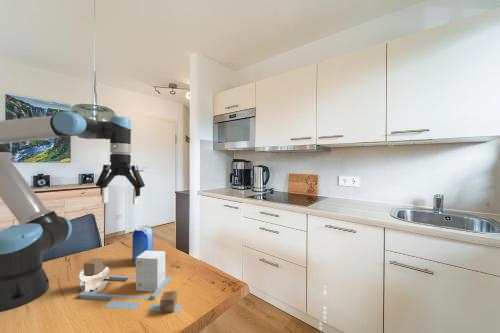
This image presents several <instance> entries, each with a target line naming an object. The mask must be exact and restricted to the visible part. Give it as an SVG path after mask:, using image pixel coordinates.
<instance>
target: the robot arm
mask: <svg viewBox="0 0 500 333" xmlns="http://www.w3.org/2000/svg"><path fill="white" fill-rule="evenodd" d="M131 135H132V123H131V120H130V118H128V117H126V116H125V117H124V116H118V115H117V116H113V115H112V116H110V118H109V121H108V120H107V121H103V120H94V119H92V118H89V117H86V116H82V115H80V114H78V113H76V112H73V111H72V112H71V111H60V112H59V113H57V114H55V115H49V116H38V117H37V116H36V117H26V118H24V117H23V118H14V119H3V120H0V200H1V201H2V202H3V203H4V205H5V206H6V207H7V208H8V210H9V211H10V213H11V214H12V215H13V216H14V218H15V219H16V220H17V221H18V225H14V226H9V227H7V228H3V229H1V230H0V312H1V311H2V312H3V311H7V310H11V309H15V308H17V307H21V306H23V305H26V304H28V303H30V302H33V301H34V300H37V299H38V298H40V297H41V296H43V295H44V294H46V293H47V292H48V291H49V288H50V280H49V278H48V276H47V274H46V272H45V270H44V269H43V268H44V267H43V255H45V254H46V253H48V252H49V251H51V250H53V249H54V248H57V247H59V246H60V245H62V244H63V243H64V242H66V241H67V240H68V239H69V238H70V236H71V234H72V232H73V225H72V222H71V221H70V220H69V219H68V218H67V217H64V216H60V215H58V214H57V213H56V212H55V210H51V209H48V208H47V207H46V206H45V204H44V203H43V202H42V201H41V199H40V197H39V196H38V195H37V194H36V193H35V191H34V190H33V189H32V187H31V186H30V184H29V183H28V182H27V181H26V179H25V177H24V176H23V175H22V174H21V172H20V171H19V169H18V168H17V167H16V166H15V164H14V163H13V161H12V160H11V159H12V157H13V153H12V150H13V148H12V147H13V143H21V142H31V141H38V140H47V139H57V138H65V137H67V138H68V137H77V138H79V139H86V140H91V139H92V140H109V153H111V154H110V155H109V162H110V164H103V165H102V171H101V172H100V175H99V176H98V179H97V181H96V183H95V186H96V187H99V189H100V196H101V204H106V203H109V187H108V185H109V184H110V183H111V182H112V180H113V179H114V178H115V177H117V176H121V177H124V178H125V177H126V179H127V180H128V181H129V183H130V184H131V185H132V186H133V189H132V205H138V204H139V197H140V196H141V188H145V187H146V185H145V183H144V180H143V178H142V176H141V174H140V172H139V167H138V165H137V164H136V165H131V161H132V157H131V152H132V147H131V146H132V145H131V144H132V143H131V141H132V136H131ZM130 170H131V171H130Z"/></svg>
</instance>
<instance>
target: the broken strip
mask: <svg viewBox="0 0 500 333" xmlns="http://www.w3.org/2000/svg"><path fill="white" fill-rule="evenodd" d="M140 304H141V302H136V301H135V302H134V301H122V300H121V301H120V300H119V301H118V300H110V301H109V302H108V303H107V304H106V305H105V306H104V308H106V309H107V308H108V309H109V308H110V309H122V310H124V309H125V310H136V309H137V308H138V307H139V306H140ZM183 306H184V305H182V304H176V307H175V310H174V312H173V313H180V312H181V310H182V308H183ZM147 311H154V312H155V311H157V312H160V303H154V302H153V303H152V304H151V305H150V306H149V308H147Z"/></svg>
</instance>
